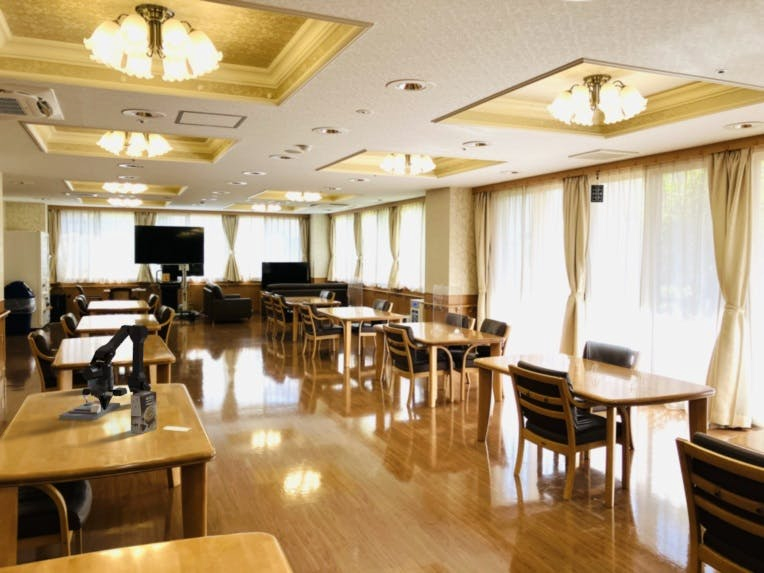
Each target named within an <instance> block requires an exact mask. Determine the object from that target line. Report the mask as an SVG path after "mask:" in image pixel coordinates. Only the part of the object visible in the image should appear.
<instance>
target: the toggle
mask: <svg viewBox="0 0 764 573" xmlns="http://www.w3.org/2000/svg"><path fill="white" fill-rule="evenodd" d="M82 397H83V400H84V401H85V403H87V402H89V400H88V397H87V395H82Z"/></svg>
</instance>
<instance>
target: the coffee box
mask: <svg viewBox="0 0 764 573" xmlns="http://www.w3.org/2000/svg"><path fill="white" fill-rule="evenodd" d="M157 402H158V401H157V391H154V390H153V391H152V390H150V391H143V392H139V393H136V394H133V393H132V394H130V433H135V434H141V435H143V434H145V433H148V432H150V431H153V430H155V429H157V426H158V425H157V424H158V420H157V419H158V414H157V408H158V407H157V406H158V405H157V404H158V403H157Z"/></svg>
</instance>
